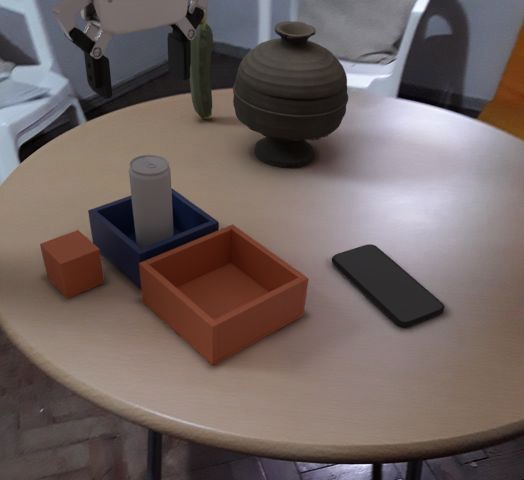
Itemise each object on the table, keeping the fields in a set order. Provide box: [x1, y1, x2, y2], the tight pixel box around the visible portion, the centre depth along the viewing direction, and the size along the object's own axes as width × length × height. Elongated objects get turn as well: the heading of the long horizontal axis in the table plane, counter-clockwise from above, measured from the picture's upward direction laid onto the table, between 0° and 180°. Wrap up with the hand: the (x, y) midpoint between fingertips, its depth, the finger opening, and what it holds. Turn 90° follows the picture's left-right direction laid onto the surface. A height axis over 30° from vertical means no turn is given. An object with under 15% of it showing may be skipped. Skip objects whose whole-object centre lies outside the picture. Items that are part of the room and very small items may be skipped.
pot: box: [232, 20, 349, 169], centre depth 97 cm, size 18×18×20 cm
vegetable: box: [189, 7, 214, 120], centre depth 105 cm, size 4×4×20 cm
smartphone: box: [331, 243, 445, 328], centre depth 79 cm, size 7×1×15 cm
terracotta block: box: [39, 229, 105, 299], centre depth 75 cm, size 5×5×5 cm
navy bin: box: [87, 187, 220, 292], centre depth 80 cm, size 12×12×6 cm
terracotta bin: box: [139, 224, 309, 366], centre depth 73 cm, size 14×14×6 cm
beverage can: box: [128, 154, 174, 249], centre depth 77 cm, size 5×5×12 cm
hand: (141, 84), depth 67 cm, fingers open, 9 cm apart
